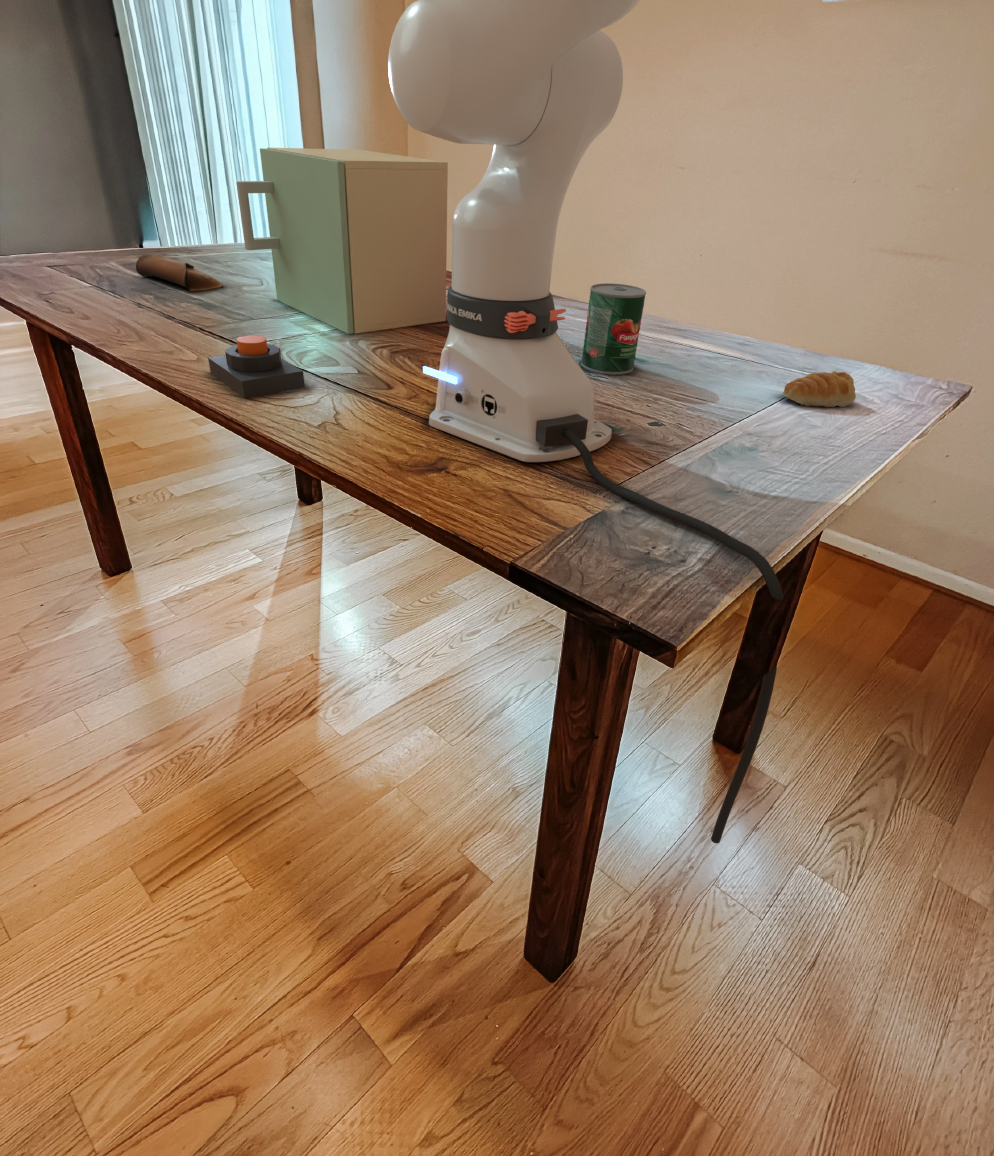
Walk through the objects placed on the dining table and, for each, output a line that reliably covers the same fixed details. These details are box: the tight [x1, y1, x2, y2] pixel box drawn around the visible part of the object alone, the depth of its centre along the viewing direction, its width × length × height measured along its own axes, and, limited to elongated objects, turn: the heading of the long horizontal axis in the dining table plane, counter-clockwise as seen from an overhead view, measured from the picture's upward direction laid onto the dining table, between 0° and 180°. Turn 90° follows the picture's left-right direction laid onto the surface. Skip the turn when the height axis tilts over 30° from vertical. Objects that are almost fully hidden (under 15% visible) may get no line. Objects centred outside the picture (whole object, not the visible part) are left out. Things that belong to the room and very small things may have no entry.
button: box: [236, 334, 268, 355], centre depth 88 cm, size 4×4×2 cm
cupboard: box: [266, 147, 449, 334], centre depth 118 cm, size 18×26×24 cm
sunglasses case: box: [135, 254, 224, 293], centre depth 134 cm, size 18×7×7 cm
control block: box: [207, 343, 306, 399], centre depth 89 cm, size 11×8×4 cm
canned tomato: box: [580, 282, 647, 376], centre depth 101 cm, size 8×8×11 cm
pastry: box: [782, 370, 857, 408], centre depth 95 cm, size 9×7×4 cm
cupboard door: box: [235, 147, 355, 335], centre depth 111 cm, size 7×26×24 cm, turn 39°
